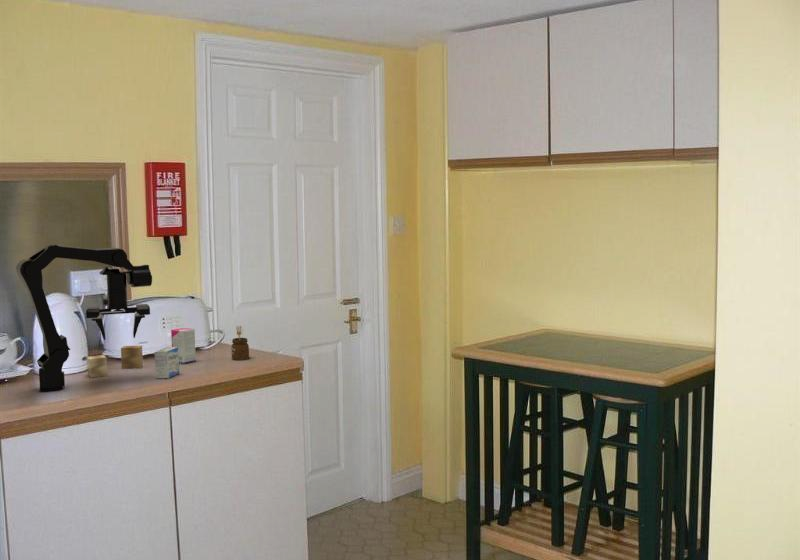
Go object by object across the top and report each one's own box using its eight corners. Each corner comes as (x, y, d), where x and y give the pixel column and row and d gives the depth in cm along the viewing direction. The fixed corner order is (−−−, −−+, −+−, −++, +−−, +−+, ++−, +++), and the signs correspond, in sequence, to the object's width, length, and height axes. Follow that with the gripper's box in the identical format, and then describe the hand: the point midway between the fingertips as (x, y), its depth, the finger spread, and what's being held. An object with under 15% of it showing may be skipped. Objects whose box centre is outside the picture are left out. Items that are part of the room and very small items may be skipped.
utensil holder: (249, 356, 304) (248, 323, 303) (248, 360, 298) (247, 325, 297) (232, 357, 303) (231, 323, 302) (231, 361, 297) (230, 326, 296)
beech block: (90, 378, 274) (89, 359, 273) (88, 375, 278) (87, 356, 277) (107, 376, 276) (106, 357, 276) (104, 373, 280) (103, 355, 280)
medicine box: (168, 378, 270) (167, 351, 269) (155, 378, 271) (154, 351, 270) (179, 373, 278) (178, 347, 277) (167, 373, 279) (165, 346, 278)
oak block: (121, 369, 287) (120, 348, 286) (124, 366, 291) (123, 346, 290) (140, 368, 287) (139, 347, 287) (143, 366, 291) (141, 345, 291)
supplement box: (196, 361, 297) (195, 328, 296) (183, 364, 292) (182, 331, 291) (184, 359, 301) (183, 327, 299) (171, 362, 296) (170, 329, 294)
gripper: (147, 284, 278) (149, 332, 279) (85, 287, 272) (87, 336, 273) (149, 288, 267) (151, 338, 269) (84, 291, 261) (87, 342, 263)
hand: (119, 338), depth 269 cm, fingers open, 8 cm apart
